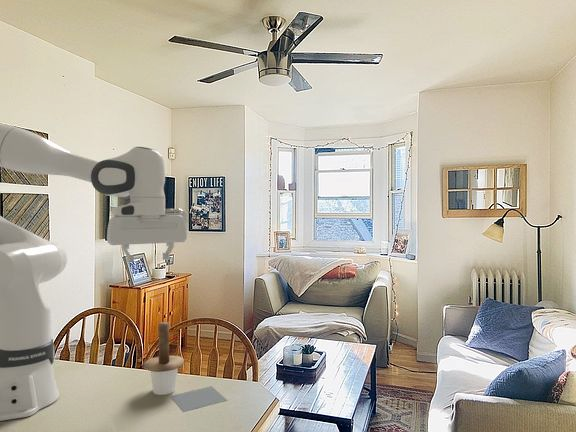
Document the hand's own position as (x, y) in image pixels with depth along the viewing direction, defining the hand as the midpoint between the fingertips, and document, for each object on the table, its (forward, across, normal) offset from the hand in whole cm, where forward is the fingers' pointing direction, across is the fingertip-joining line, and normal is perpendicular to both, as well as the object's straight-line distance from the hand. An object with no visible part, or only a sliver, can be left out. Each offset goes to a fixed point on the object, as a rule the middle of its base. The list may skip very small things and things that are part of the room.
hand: (148, 260), depth 115 cm
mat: (+33, -8, +16) cm, 37 cm away
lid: (+26, -2, +7) cm, 27 cm away
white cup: (+33, -2, +7) cm, 34 cm away
